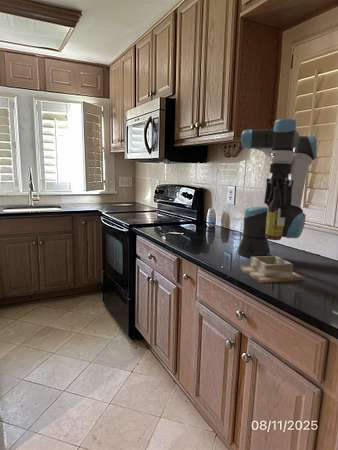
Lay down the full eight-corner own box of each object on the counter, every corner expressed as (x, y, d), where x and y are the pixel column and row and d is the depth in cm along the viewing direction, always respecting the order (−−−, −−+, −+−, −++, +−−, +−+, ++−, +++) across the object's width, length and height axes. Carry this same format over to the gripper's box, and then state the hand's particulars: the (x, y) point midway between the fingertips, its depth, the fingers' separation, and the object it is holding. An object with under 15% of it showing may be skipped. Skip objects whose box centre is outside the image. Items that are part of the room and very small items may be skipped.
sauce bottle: (275, 241, 118) (280, 188, 114) (261, 238, 122) (266, 186, 119) (285, 239, 121) (291, 188, 118) (271, 236, 126) (276, 186, 123)
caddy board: (239, 268, 130) (240, 255, 129) (277, 267, 134) (279, 254, 133) (260, 282, 114) (262, 267, 113) (302, 280, 119) (304, 265, 118)
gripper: (258, 162, 125) (253, 220, 129) (288, 162, 107) (281, 229, 111) (274, 163, 127) (269, 220, 131) (307, 163, 109) (299, 228, 113)
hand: (274, 224), depth 121 cm, fingers closed on sauce bottle, 6 cm apart
